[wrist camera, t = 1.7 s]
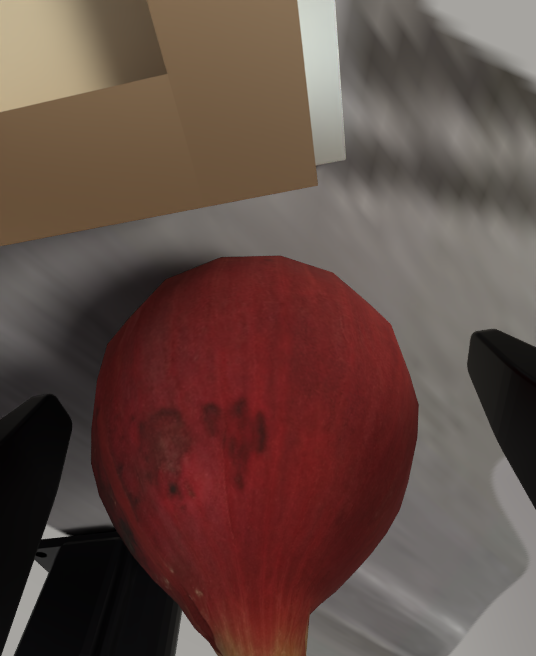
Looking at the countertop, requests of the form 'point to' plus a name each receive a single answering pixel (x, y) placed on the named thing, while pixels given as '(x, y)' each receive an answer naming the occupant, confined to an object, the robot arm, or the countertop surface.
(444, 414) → the countertop surface
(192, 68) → the tan square tray
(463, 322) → the countertop surface
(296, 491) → the onion
